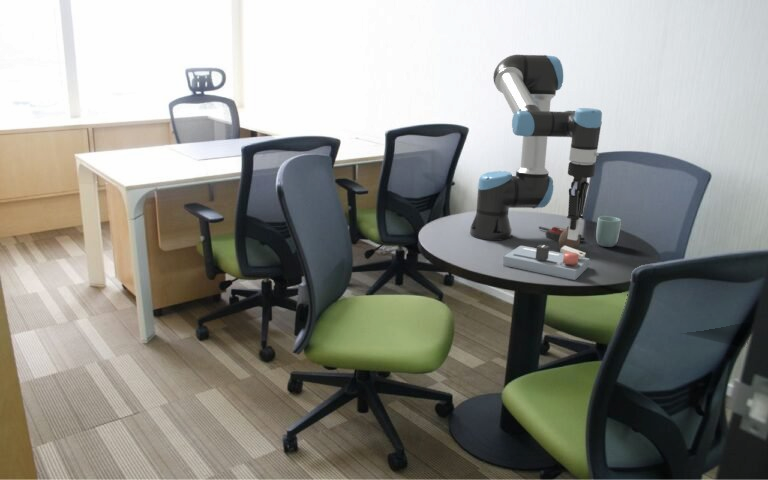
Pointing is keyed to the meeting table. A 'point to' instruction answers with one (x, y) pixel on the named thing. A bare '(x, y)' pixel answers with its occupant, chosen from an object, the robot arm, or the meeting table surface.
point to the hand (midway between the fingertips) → (572, 239)
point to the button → (570, 258)
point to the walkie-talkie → (556, 233)
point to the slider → (542, 252)
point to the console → (544, 263)
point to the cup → (607, 231)
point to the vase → (568, 240)
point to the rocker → (569, 249)
